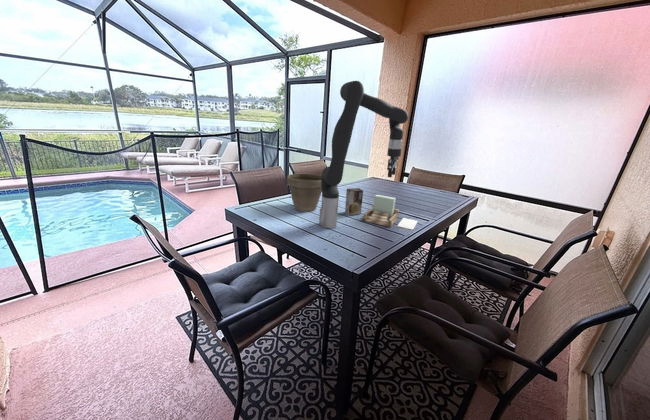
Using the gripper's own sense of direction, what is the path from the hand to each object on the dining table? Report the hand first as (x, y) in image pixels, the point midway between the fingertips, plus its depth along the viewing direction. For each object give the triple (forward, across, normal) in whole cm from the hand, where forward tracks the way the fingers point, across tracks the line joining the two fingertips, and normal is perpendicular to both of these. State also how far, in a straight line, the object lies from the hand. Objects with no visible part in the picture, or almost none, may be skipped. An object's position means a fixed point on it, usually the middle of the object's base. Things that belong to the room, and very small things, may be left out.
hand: (391, 175), depth 148 cm
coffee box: (+28, +2, -22) cm, 35 cm away
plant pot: (+27, +12, -52) cm, 60 cm away
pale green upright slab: (+28, -1, -3) cm, 28 cm away
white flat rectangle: (+28, 0, +13) cm, 31 cm away
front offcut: (+28, +7, -3) cm, 29 cm away
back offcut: (+28, +3, -3) cm, 28 cm away
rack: (+28, +2, -3) cm, 28 cm away
